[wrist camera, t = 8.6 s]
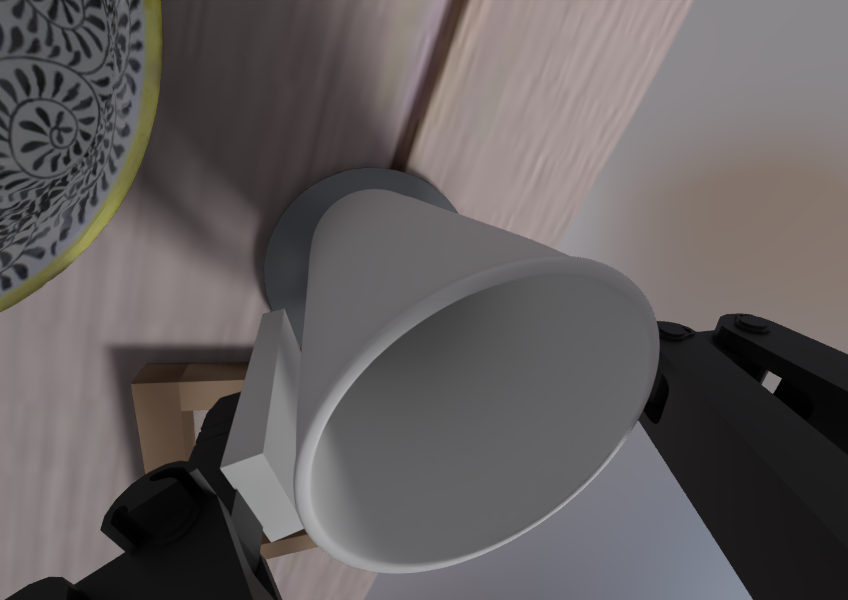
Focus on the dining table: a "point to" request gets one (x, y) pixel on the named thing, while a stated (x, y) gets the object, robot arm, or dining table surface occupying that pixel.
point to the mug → (455, 382)
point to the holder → (190, 421)
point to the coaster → (299, 224)
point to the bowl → (70, 126)
